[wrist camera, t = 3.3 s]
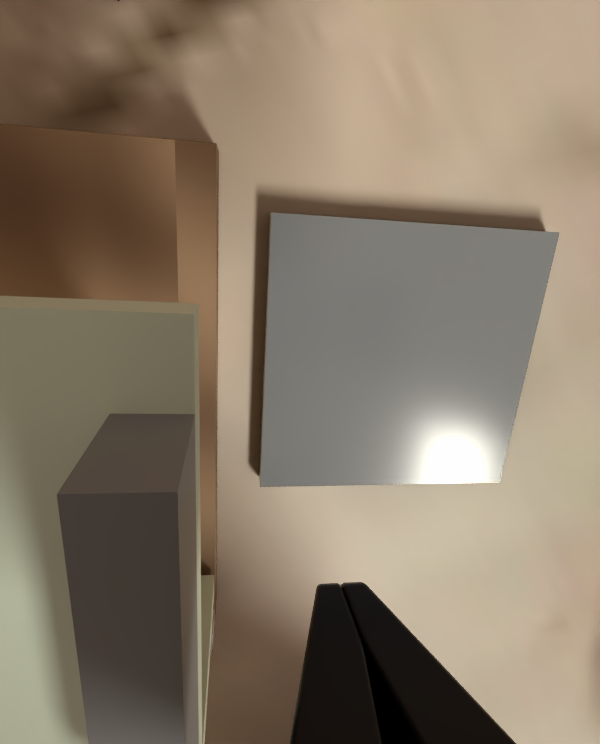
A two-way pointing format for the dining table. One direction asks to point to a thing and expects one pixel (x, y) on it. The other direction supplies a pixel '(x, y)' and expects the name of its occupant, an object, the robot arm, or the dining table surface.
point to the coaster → (395, 349)
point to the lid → (101, 524)
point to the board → (119, 243)
